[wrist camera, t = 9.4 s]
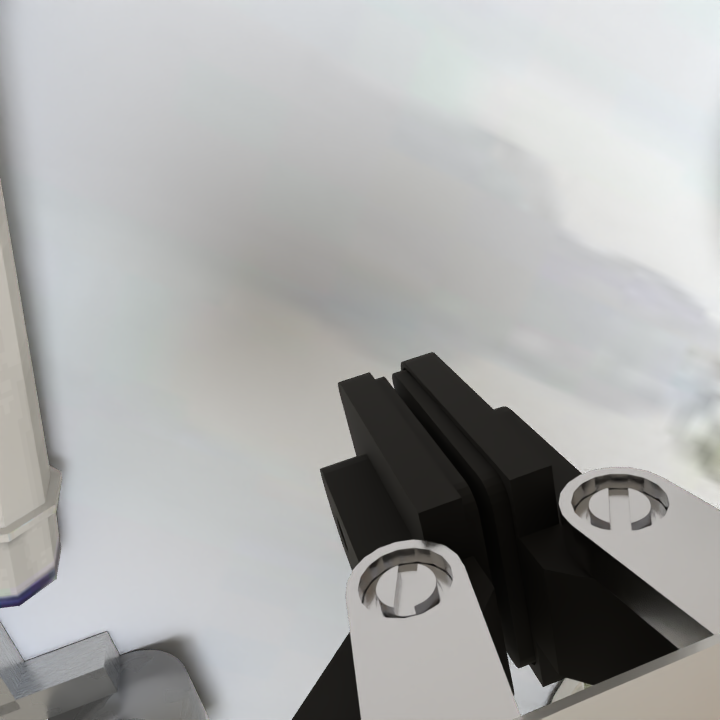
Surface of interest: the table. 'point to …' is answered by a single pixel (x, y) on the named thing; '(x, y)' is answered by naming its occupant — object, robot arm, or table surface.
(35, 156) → the table surface
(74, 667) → the ladle
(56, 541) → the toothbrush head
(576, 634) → the robot arm
